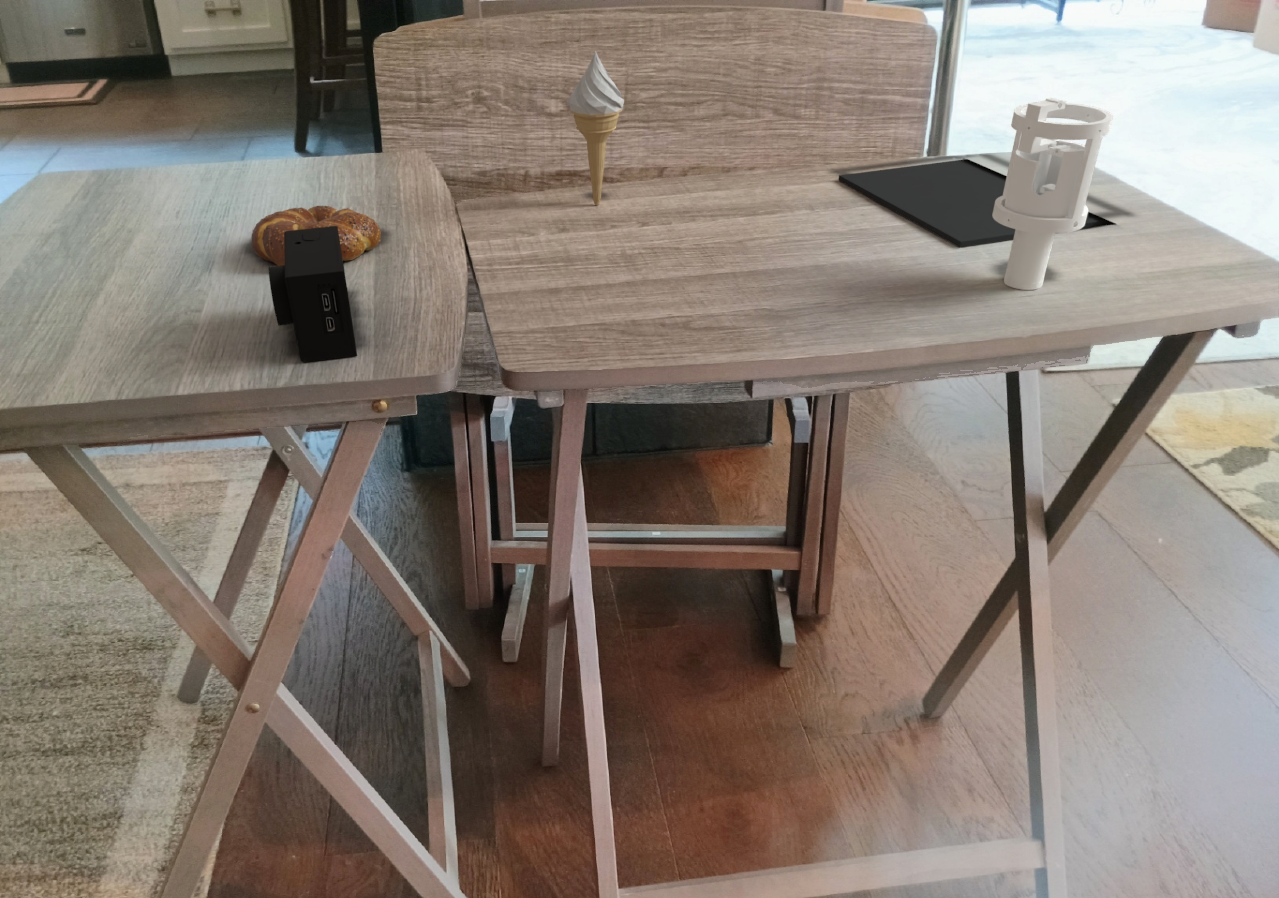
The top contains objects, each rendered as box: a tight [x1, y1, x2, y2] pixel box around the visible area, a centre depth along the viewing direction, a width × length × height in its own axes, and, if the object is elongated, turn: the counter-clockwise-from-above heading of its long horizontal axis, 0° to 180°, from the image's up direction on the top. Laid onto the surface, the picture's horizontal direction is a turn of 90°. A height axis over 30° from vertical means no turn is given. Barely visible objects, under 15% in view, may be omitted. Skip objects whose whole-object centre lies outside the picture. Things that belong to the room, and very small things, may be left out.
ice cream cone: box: [567, 50, 625, 206], centre depth 103 cm, size 6×6×15 cm
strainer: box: [992, 97, 1114, 291], centre depth 83 cm, size 7×7×15 cm
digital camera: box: [268, 226, 358, 363], centre depth 81 cm, size 10×5×7 cm, turn 13°
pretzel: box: [250, 205, 382, 266], centre depth 97 cm, size 12×11×4 cm
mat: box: [837, 158, 1117, 248], centre depth 105 cm, size 22×18×1 cm
